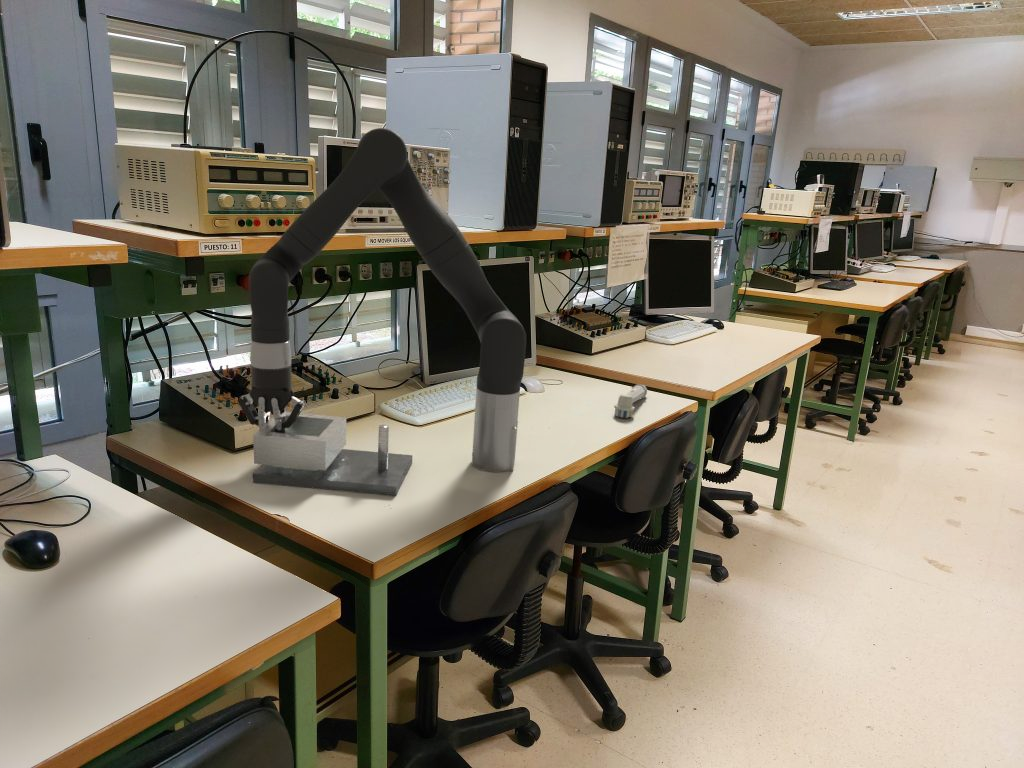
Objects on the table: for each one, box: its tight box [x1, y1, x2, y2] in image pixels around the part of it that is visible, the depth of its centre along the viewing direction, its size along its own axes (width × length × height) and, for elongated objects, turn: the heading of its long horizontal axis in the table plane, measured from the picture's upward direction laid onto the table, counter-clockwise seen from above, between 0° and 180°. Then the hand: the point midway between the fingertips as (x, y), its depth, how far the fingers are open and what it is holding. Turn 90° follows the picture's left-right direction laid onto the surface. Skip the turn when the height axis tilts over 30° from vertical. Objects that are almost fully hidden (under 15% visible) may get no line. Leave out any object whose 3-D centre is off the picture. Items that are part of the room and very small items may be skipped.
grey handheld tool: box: [613, 383, 648, 419], centre depth 202 cm, size 5×7×25 cm
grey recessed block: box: [252, 411, 347, 470], centre depth 144 cm, size 14×14×6 cm
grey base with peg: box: [252, 424, 413, 497], centre depth 144 cm, size 28×16×11 cm, turn 87°
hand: (272, 444), depth 144 cm, fingers closed on grey recessed block
